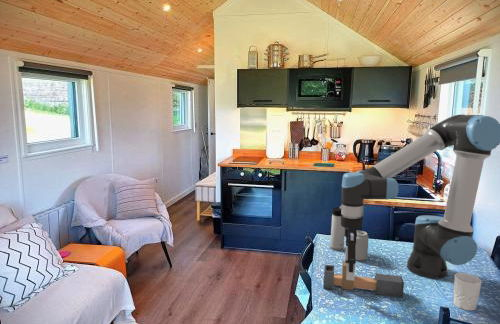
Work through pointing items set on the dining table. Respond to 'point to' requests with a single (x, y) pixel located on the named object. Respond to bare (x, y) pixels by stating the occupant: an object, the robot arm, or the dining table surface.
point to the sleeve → (389, 285)
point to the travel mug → (337, 230)
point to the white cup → (466, 291)
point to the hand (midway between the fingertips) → (349, 271)
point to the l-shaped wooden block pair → (357, 283)
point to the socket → (328, 277)
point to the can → (361, 246)
